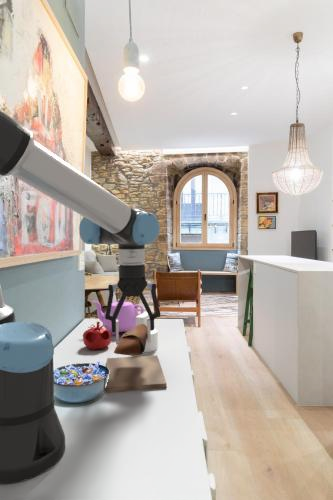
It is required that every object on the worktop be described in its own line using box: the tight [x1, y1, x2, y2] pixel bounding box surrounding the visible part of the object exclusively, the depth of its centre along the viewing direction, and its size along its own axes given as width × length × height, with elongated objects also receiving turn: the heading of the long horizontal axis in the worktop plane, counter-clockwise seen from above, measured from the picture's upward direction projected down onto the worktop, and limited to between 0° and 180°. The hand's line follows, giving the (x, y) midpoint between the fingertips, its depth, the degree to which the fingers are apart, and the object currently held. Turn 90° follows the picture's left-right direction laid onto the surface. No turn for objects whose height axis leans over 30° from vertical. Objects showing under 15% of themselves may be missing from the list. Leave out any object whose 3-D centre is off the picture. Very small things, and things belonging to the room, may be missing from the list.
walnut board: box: [104, 354, 168, 393], centre depth 102 cm, size 16×22×1 cm
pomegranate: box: [82, 321, 112, 351], centre depth 127 cm, size 10×10×9 cm
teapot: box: [92, 298, 145, 336], centre depth 147 cm, size 22×16×14 cm
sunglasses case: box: [113, 324, 147, 356], centre depth 102 cm, size 18×7×7 cm, turn 0°
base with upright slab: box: [136, 311, 159, 353], centre depth 126 cm, size 9×9×12 cm
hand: (133, 342), depth 102 cm, fingers closed on sunglasses case, 8 cm apart
